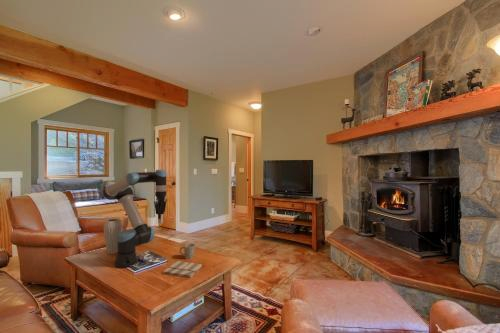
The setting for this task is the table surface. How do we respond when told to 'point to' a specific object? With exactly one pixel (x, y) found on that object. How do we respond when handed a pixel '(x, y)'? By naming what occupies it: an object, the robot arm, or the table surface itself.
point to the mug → (188, 250)
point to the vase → (112, 235)
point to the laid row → (179, 272)
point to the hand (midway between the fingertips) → (160, 223)
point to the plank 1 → (179, 265)
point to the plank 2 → (192, 267)
